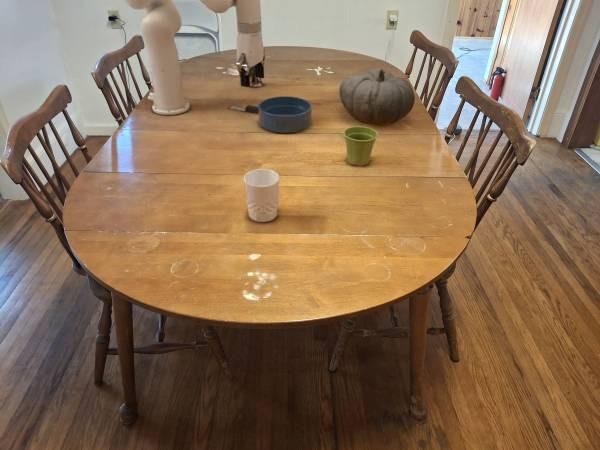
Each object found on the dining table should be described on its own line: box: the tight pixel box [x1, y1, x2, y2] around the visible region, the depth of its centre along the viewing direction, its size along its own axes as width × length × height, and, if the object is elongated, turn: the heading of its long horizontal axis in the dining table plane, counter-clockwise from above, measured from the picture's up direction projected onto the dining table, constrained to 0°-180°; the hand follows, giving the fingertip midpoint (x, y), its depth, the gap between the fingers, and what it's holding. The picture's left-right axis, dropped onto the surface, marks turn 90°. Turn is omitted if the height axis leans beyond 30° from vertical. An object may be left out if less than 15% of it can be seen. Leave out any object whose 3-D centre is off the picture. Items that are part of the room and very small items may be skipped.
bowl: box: [257, 95, 313, 134], centre depth 150 cm, size 17×17×6 cm
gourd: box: [338, 68, 416, 126], centre depth 152 cm, size 25×25×17 cm
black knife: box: [229, 104, 259, 115], centre depth 160 cm, size 11×2×2 cm, turn 66°
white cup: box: [243, 168, 280, 223], centre depth 106 cm, size 8×8×10 cm
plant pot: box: [342, 125, 379, 167], centre depth 128 cm, size 9×9×9 cm
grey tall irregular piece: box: [246, 64, 266, 88], centre depth 175 cm, size 8×11×20 cm
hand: (252, 81), depth 153 cm, fingers open, 9 cm apart
